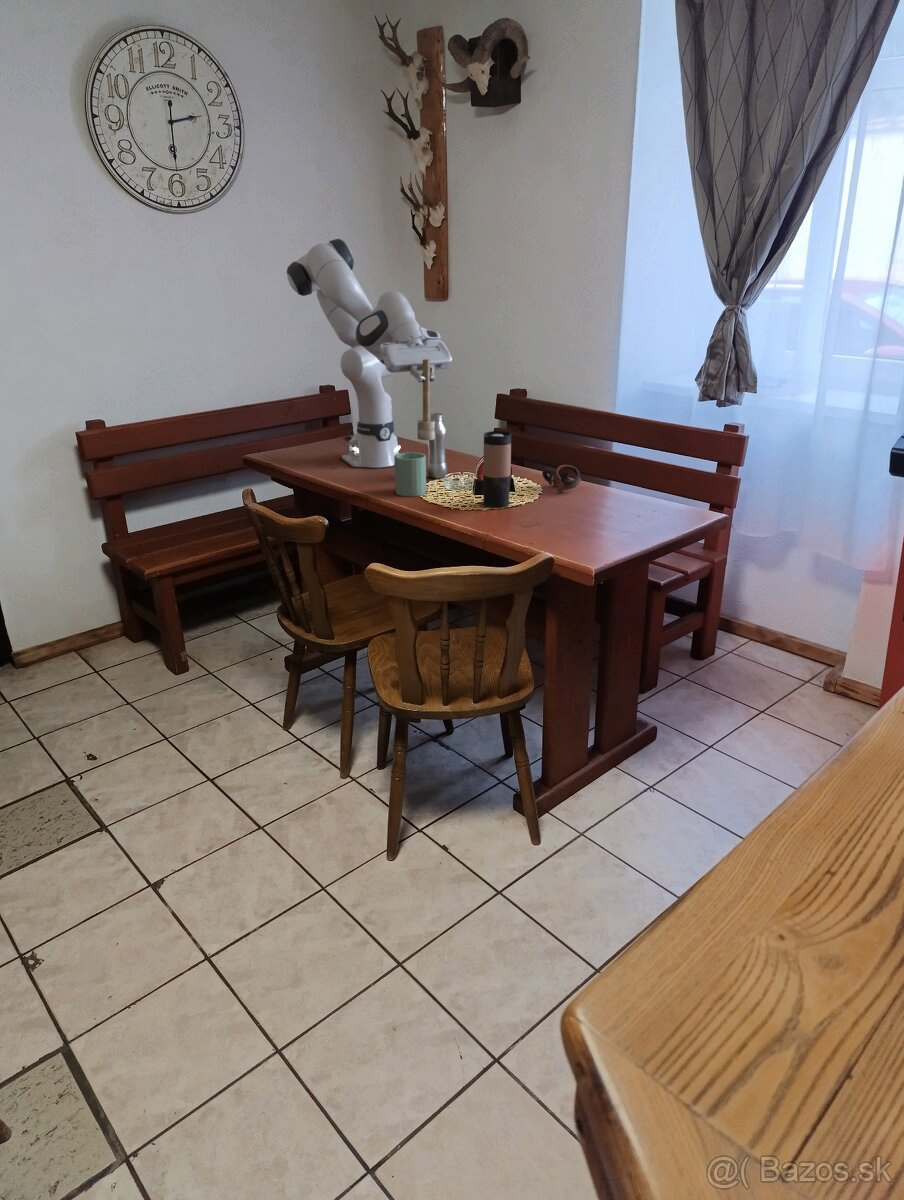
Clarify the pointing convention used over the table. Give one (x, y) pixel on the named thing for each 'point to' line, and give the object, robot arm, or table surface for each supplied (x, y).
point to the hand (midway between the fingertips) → (427, 380)
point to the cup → (410, 474)
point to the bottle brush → (426, 407)
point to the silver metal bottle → (437, 449)
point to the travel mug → (496, 468)
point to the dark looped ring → (562, 477)
